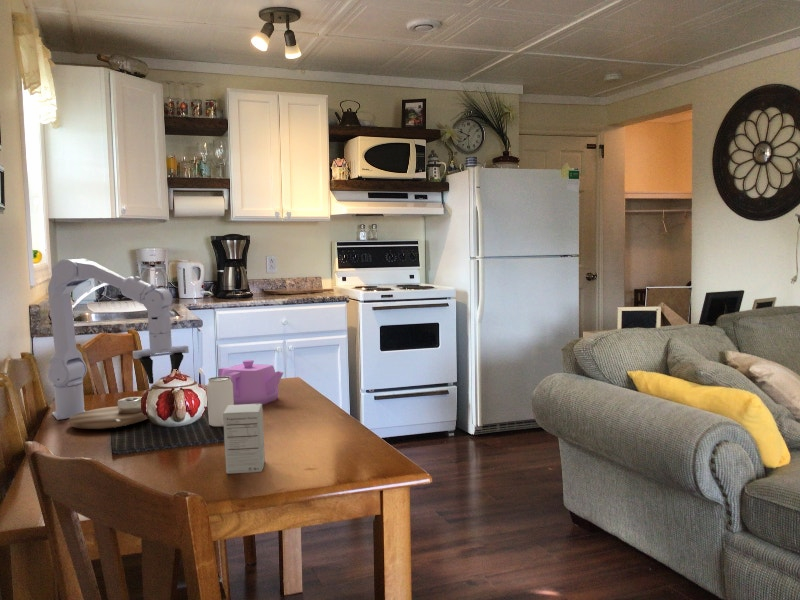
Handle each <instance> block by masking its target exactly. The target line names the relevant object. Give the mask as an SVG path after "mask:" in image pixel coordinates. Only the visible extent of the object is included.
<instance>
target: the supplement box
mask: <svg viewBox="0 0 800 600" xmlns="http://www.w3.org/2000/svg"><path fill="white" fill-rule="evenodd" d="M263 412H264V411H263V405H262V404H242V405H228V406H227V408H226V410H225V411H224V413H223V422H224V427H223V438H224V457H225V472H226V474H247V473H248V474H249V473H261V472H263V468H264V466H265V462H266V456H265V455H266V454H265V453H266V451H265V433H264V415H263Z"/></svg>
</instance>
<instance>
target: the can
mask: <svg viewBox="0 0 800 600" xmlns="http://www.w3.org/2000/svg"><path fill="white" fill-rule="evenodd" d="M230 378H231V377H227V376H221V377H218V376H214V377H210V378H208V382H207V383H206V392H207V396H206V397H207V412H208V413H207V414H208V425H210V426H211V427H214V428H221V427H222V428H224V422H223V413H224V411H225V410H226V408H227V406H228V405H234V400H233V384H232V381H231V379H230Z"/></svg>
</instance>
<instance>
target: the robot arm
mask: <svg viewBox="0 0 800 600" xmlns="http://www.w3.org/2000/svg"><path fill="white" fill-rule="evenodd" d="M90 279H94V280H96V281H99V282H101V283H104V284H106V285H109V286H112V287H114V288H116V289H120V292H121V295H122V296H124V297H126V298H129V299H131V300H133V301H134V302H137V303H139V304H142V305H143V306H144V307H145V309H146V310H147V323H148V336H149V339H148V340H149V348H146V349H139V350H132V358H133V359H134V360H135V359H137V360H139V362H140V364H141V365H142V368H143V369H144V371H145V374H146V377H147V380H148V384H150V385H153V384H154V373H153V372H154V370H153V368H154V367H153V366H154V364H153V363H154V360H153V359H152V357H160V356H169V358H170V359H169V361H170V366H171V372H172V371H173V369H177V370H178V371H179V370H180V366H181V365H182V364H181V363H182V361H183V360H184V354H189V353H190V351H189V350H190V349H189V346H188V345H175V346H172V344H173V343H172V327H171V326H172V324H171V310H170V309H171V308H170V306H171V305H172V304H173V299H174V298H173V294H172V293H171V291H170V290H168V289H167V288H166V287H158V288H157V285H156V284H154V283H151V284H150V283H148V282H146V281H144V280H142V277H140V276H138V275H136V276H133V275H132V276H131V275H130V276H128V277H124V276H122V275H121V274H119V273H117V272H115V271H113V270H110V269H109V268H107V267H105V266H103V265H101V264H99V263H97V262H96V261H93V260H89V259H87V258H83V257H82V258H75V259H73V258H71V259H67V258H64V259H60V260H58V261H57V262H56V263H55V264H54V265H53V266H52V267H51V278H50V280H49V283H48V286H47V292H48V300H49V302H48V303H49V309H50V319H51V328H52V335H53V345H54V353H52V355H51V357H50V358H49V368H48V371H47V378H48V380H49V381H50V383H52V386H53V387H54V389H53V390H54V401H55V402H54V403H55V411H53V412H52V415H53V417H55V419H56V420H57V421H59V420H65V419H70V417H72V416H73V415H76V414H78V413H81V412H85V411H86V410H85V399H84V385H83V384H84V383H83V382H84V377H85V376H86V374H87V372H88V367H87V364H86V362H85V361H84V358H83V354H82V352H81V351H80V350H79V348H77V344H76V343H77V341H76V333H75V324H74V314H73V306H72V296H71V293H72V292H73V291H74V290H75V289H76V288H77V287H78V286H79V285H81V284H83V283H85V282H87V281H88V280H90ZM177 370H176V371H177Z"/></svg>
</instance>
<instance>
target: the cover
mask: <svg viewBox="0 0 800 600" xmlns="http://www.w3.org/2000/svg"><path fill="white" fill-rule="evenodd" d="M142 397H143V396H130V397H123V398H120V399H118V400H117V406H118V413H119V414H137V413H141V412H142V411H141V398H142Z"/></svg>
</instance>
